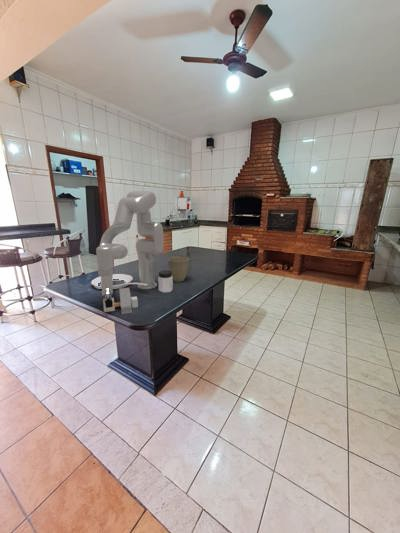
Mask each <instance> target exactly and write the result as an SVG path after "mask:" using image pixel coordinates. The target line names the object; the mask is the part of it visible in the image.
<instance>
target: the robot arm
mask: <svg viewBox="0 0 400 533" xmlns="http://www.w3.org/2000/svg"><path fill="white" fill-rule="evenodd" d="M156 203H157V196H156V194H155V193H154V192H153V191H150V190H149V191H148V190H147V191H146V190H145V191H144V190H143V191H142V190H141V191H139V190H137V191H136V190H135V191H130V192H128V193H127V195H126V197H122V198H120V199H119V202H118V205H117V209H116V212H115V217H114V220H113V223H112V224H111V225H110V226H109V227H108V228H107V229H106V230H105V231H104V232H103V234H102V236H101V239H100V242H99V246H97V247H96V249H95V250H96V251H95V253H96V260H97V261H96V263H97V273H98V277H101V284H100V286H101V287H102V290H101V296H104V297H105V298H104V299H105V306H106V308H109V307H113V304H112V299H111V298H113V297H114V296H113V292H114V290H113V286H114V280H113V276H112V275H114V274H116V272H115V270H116V269H115V260H121V259H124V258H126V256H128V252H129V250H128V247H127V246H125V245H124V244H121V243H113V241H114V239H115V238H116V237H117V236H118V235H120V234H122V233H124V232H126V231H128V230H129V229H130V228H131V225H132V222H133V217H134V215H136V225H137V226H136V229H137V233H138V236H140V237H146V238H140V239H138V240H136V243H135V250H136V253H137V258H138V259H137V260H138V275H139V283H144V284H148V285H147V286H144V285H137V288H138V289H140V290H153V289H155V288H156V287H158V284H157V282H155V266H154V265H155V261H154V257H153V256H152V255H154V256H159V255H161V254H163V252H164V247H165V246H164V241H165V240H164V229H163V228H164V227H163V225H162V223H160V222H158V221H152V214H151V211H150V210H151V209H152V208H153V207H154V206H155V205H156Z"/></svg>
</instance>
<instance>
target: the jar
mask: <svg viewBox="0 0 400 533" xmlns="http://www.w3.org/2000/svg"><path fill="white" fill-rule="evenodd" d="M157 278H158V280H157V281H158V291H159V292H160V293H171V292H172V291H173V290H174V285H173V284H174V280H173V276H172V272H171V271H170V270H160V271H158V276H157Z"/></svg>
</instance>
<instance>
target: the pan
mask: <svg viewBox="0 0 400 533" xmlns="http://www.w3.org/2000/svg"><path fill="white" fill-rule="evenodd" d="M112 276H113V279H119V280H118V281H121V280H124V281H123V282H124V283H121V284H120V283H119V284H115V285H114V284H113V289H115V290H119V289H121V288H127V287H128V286H129V285H136V286H138V285H144V286H147V285H148V284H144V283H140V282H132V281H133V280H134V279H133V278H134V277H133V276H132V275H129V274H125V273H115V274H114V275H112ZM100 282H101V276H98V277H96V278H94V279H92V280H91V282H90V283H91V285H93V286H94V288H95V289H97V290H100V289H102V287H101V285H100V286H98V283H100Z"/></svg>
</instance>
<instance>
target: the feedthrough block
mask: <svg viewBox="0 0 400 533" xmlns="http://www.w3.org/2000/svg"><path fill="white" fill-rule="evenodd" d="M118 290H119V299H120V300H119V302H121V306H120V312H121V315H125V314H130V313H133V309H132V305H131V297H132V296H131V291H130V287H123V288H120V289H118Z"/></svg>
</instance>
